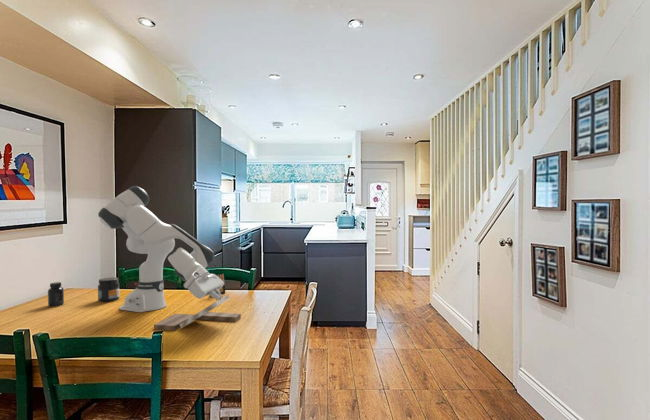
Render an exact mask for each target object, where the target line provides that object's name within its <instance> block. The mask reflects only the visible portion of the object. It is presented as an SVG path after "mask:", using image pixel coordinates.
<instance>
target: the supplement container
mask: <svg viewBox="0 0 650 420" xmlns="http://www.w3.org/2000/svg"><path fill="white" fill-rule="evenodd" d="M115 300H116V301H118V300H120V283H119V277H115V276H114V277H111V276H110V277H104V278H100V279H98V285H97V301H98V302H99V301H100V302H99V303H110V302H111V301H112V302H115ZM112 302H111V303H112Z"/></svg>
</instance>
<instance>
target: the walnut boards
mask: <svg viewBox="0 0 650 420" xmlns="http://www.w3.org/2000/svg"><path fill="white" fill-rule="evenodd" d="M194 315H195V314H187V313H174V314H172V315H169V316H168V317H166V318H164V319H163V320H160V321H158V322H156V323H155V324H153V330H158V331H159V330H160V331H177V330H178V329H180V328H181V327H180V325H179V324H181V323H182V322H184V321H186V320H187V319H189V318H190V317H192V316H194ZM241 317H242V316H241V313H236V312H235V313H233V312H216V311H209V312H207V313H205V314H204V315H202V316H201V317H199V318H197V319H196V320H198V321H199V320H201V321H218V322H219V321H220V322H237V321H239V320H240V319H242V318H241Z"/></svg>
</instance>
